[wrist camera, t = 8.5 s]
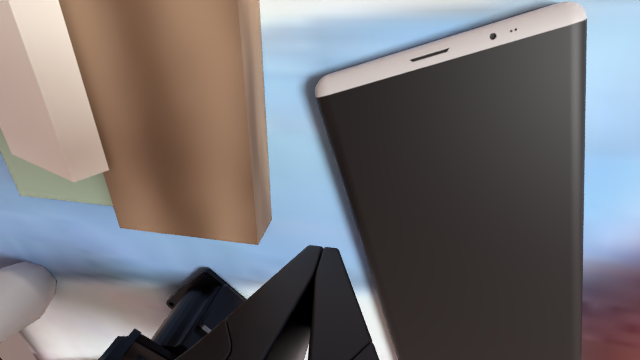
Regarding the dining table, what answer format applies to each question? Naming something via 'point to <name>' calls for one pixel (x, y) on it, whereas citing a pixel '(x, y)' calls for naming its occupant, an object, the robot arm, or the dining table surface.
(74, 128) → the pale pink slab
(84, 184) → the mat
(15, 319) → the salt shaker
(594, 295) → the dining table surface
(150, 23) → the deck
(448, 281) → the smartphone
